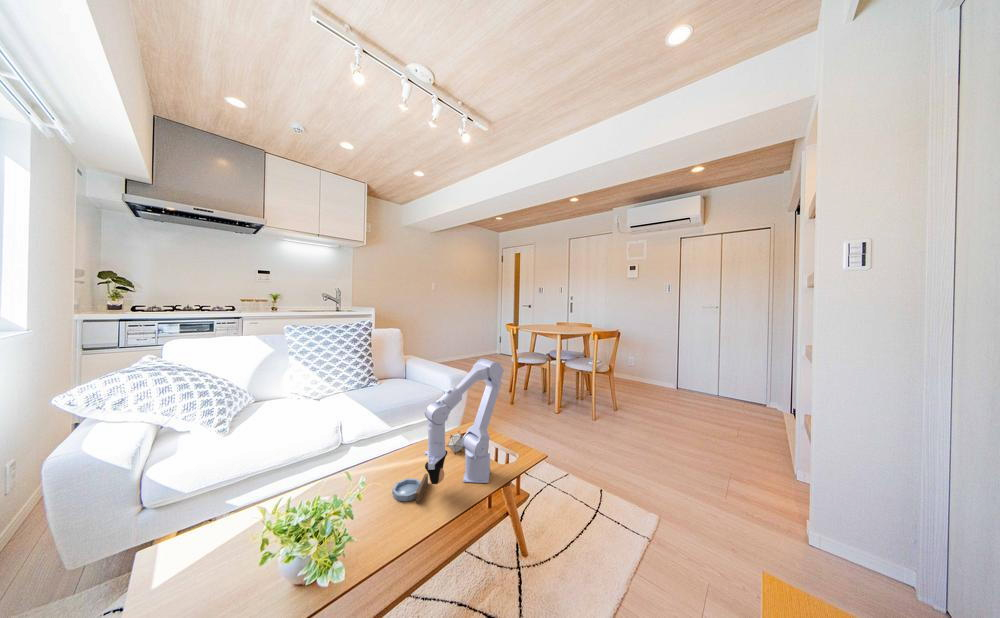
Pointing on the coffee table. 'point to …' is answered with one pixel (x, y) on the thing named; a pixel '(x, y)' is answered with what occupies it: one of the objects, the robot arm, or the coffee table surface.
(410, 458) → the coffee table surface
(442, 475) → the ball
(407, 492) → the dish
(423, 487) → the wooden block
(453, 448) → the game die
